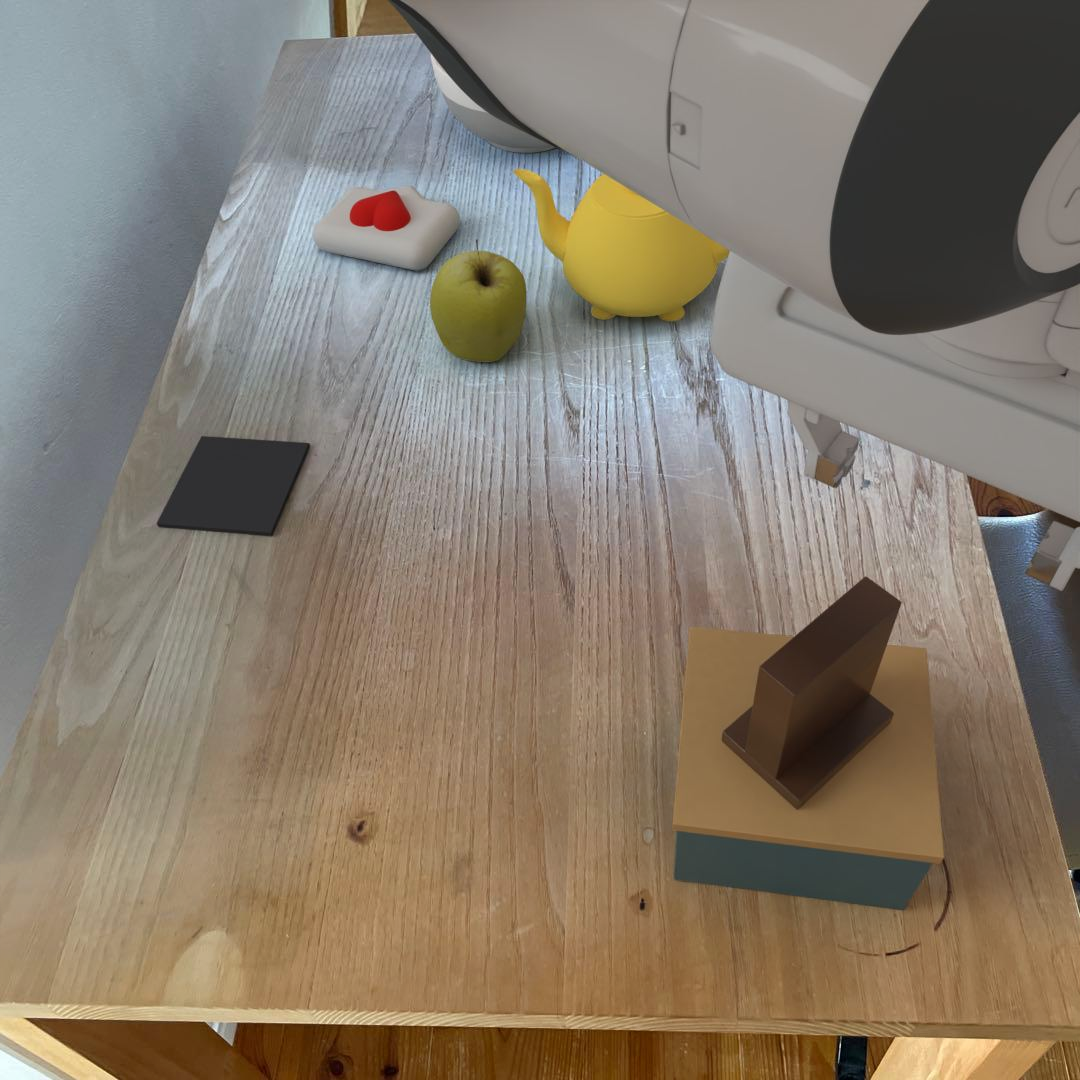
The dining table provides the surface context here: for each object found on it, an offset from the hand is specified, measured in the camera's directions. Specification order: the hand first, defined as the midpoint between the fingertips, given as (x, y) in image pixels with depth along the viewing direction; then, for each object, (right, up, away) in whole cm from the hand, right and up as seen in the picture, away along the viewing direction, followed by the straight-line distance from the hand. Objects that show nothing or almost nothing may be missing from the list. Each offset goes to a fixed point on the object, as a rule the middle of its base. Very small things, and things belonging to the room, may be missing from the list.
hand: (933, 520), depth 41 cm
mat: (-39, +3, +34) cm, 52 cm away
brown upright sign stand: (-3, -10, +9) cm, 14 cm away
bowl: (-17, +43, +64) cm, 78 cm away
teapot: (-7, +21, +46) cm, 51 cm away
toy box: (-2, -15, +16) cm, 22 cm away
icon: (-30, +28, +53) cm, 67 cm away
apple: (-21, +15, +42) cm, 49 cm away
